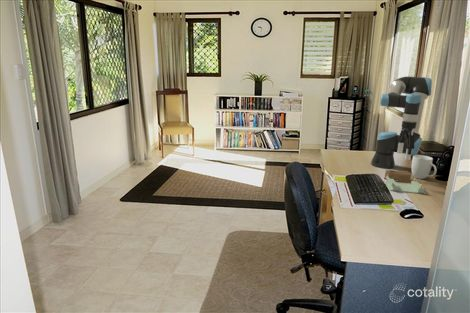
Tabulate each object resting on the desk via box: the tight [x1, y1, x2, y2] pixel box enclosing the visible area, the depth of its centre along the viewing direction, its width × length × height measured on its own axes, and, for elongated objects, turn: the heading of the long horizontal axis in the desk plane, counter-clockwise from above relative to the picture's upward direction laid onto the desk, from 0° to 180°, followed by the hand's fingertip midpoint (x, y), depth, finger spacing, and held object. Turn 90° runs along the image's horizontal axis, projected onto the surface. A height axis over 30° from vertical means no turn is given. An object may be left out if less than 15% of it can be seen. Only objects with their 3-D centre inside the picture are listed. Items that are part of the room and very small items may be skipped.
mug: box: [411, 154, 438, 180], centre depth 218 cm, size 15×11×13 cm
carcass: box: [384, 176, 427, 195], centre depth 199 cm, size 13×19×5 cm
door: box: [384, 169, 412, 183], centre depth 214 cm, size 6×13×6 cm, turn 84°
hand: (403, 156), depth 210 cm, fingers open, 13 cm apart
